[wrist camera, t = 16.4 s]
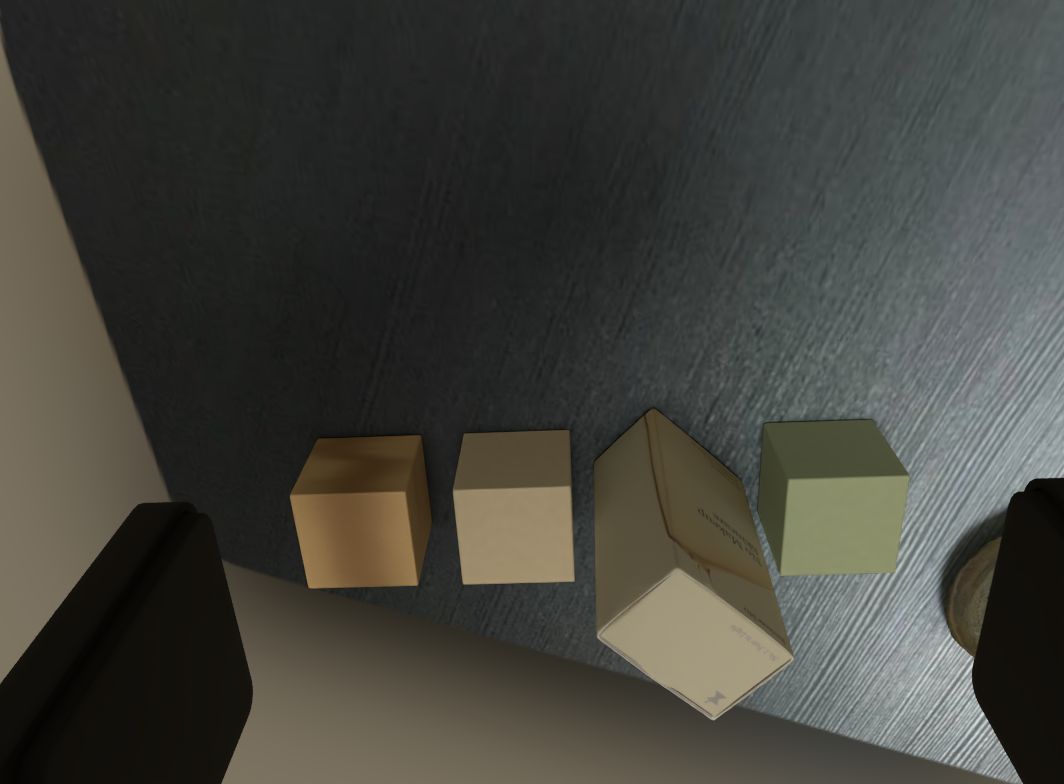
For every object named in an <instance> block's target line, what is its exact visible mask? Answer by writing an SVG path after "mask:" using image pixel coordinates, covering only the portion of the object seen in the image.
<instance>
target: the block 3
mask: <svg viewBox="0 0 1064 784" xmlns="http://www.w3.org/2000/svg"><path fill="white" fill-rule="evenodd" d="M909 479H910V475H909V474H908V472H907V471H906V469H905V468H904V466H903V465H902V463H901V462H900V460H899V459H898V457H897V456H896V454H895V453H894V451H893V450H892V448H891V447H890V445H889V444H888V442H887V441H886V440H885V438H884V437H883V435H882V434H881V432H880V431H879V429H878V428H877V426H876V425H875V423H874V422H873V420H846V421H817V422H788V423H765V424H764V427H763V441H762V456H761V470H760V485H759V499H758V514H759V517H760V520H761V523H762V526H763V529H764V531H765V534H766V537H767V540H768V543H769V545H770V548H771V551H772V554H773V557H774V560H775V562H776V565H777V568H778V571H779V574H780V575H781V576H792V575H830V574H868V573H894V572H895V569H896V563H897V556H898V550H899V543H900V537H901V531H902V524H903V518H904V511H905V505H906V499H907V492H908V486H909Z"/></svg>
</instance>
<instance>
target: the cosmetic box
mask: <svg viewBox="0 0 1064 784" xmlns="http://www.w3.org/2000/svg"><path fill="white" fill-rule="evenodd" d="M594 507H595V510H594V512H595V565H596V616H597V638H598V639H599V640H600V641H601V642H603V643H604V644H606V645H607V646H608V647H610V648H611V649H613V650H614V651H615V652H616V653H618V654H619V655H620V656H622V657H624V658H625V659H626V660H627V661H629V662H630V663H632V664H633V665H634V666H636V667H637V668H638V669H640V670H641V671H642V672H644V673H645V674H646V675H648V676H649V677H651V678H652V679H653V680H655V681H656V682H658V683H659V684H661V685H662V686H664V687H665V688H667V689H668V690H670V691H671V692H672V693H674V694H675V695H677V696H678V697H680V698H681V699H683V700H684V701H685V702H687V703H689V704H690V705H691V706H693V707H694V708H696V709H697V710H699V711H701V712H702V713H703V714H704V715H706V716H707V717H708V718H710V719H712V720H715V719H716V718H718V717H719V716H720V715H722V714H723V713H724V712H726V711H727V710H729V709H730V708H731V707H733V706H734V705H735V704H737V703H738V702H740V701H741V700H742V699H744V698H745V697H747V696H748V695H749V694H751V693H752V692H753V691H755V690H756V689H757V688H759V687H760V686H761V685H763V684H764V683H766V682H767V681H768V680H770V679H771V678H772V677H773V676H775V675H776V674H777V673H778V672H780V671H781V670H782V669H784V668H785V667H786V666H787V665H789V664H790V663H792V662H793V660H794V655H793V652H792V649H791V645H790V642H789V639H788V636H787V633H786V629H785V626H784V622H783V619H782V616H781V612H780V609H779V606H778V602H777V599H776V596H775V592H774V589H773V586H772V582H771V579H770V575H769V572H768V569H767V565H766V562H765V559H764V555H763V552H762V549H761V545H760V542H759V538H758V535H757V532H756V528H755V525H754V521H753V518H752V514H751V511H750V508H749V504H748V501H747V497H746V494H745V490H744V487H743V484H742V481H741V480H740V479H739V478H737V477H736V476H735V475H734V474H733V473H732V472H730V471H729V470H728V469H727V468H726V467H725V466H724V465H722V464H721V463H720V462H719V461H718V460H717V459H715V458H714V457H713V456H712V455H711V454H710V453H708V452H707V451H706V450H705V449H704V448H702V447H701V446H700V445H699V444H698V443H696V442H695V441H694V440H693V439H692V438H690V437H689V436H688V435H687V434H686V433H684V432H683V431H682V430H681V429H680V428H678V427H677V426H676V425H675V424H673V423H672V422H671V421H670V420H669V419H667V418H666V417H665V416H664V415H662V414H661V413H660V412H659V411H657V410H656V409H651V410H650V411H648V412H647V413H646V414H645V415H644V416H643V417H642V418H641V419H640V420H639V421H637V422H636V423H635V424H634V425H633V426H632V427H631V428H630V429H629V430H628V431H626V432H625V433H624V434H623V435H622V436H621V437H620V438H619V439H618V440H617V441H616V442H615V443H614V444H612V445H611V446H610V447H609V448H608V449H607V450H606V451H605V452H604V453H603V454H602V455H601V456H600V457H599V458H598V459H597V460H596V461H595V462H594Z"/></svg>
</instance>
